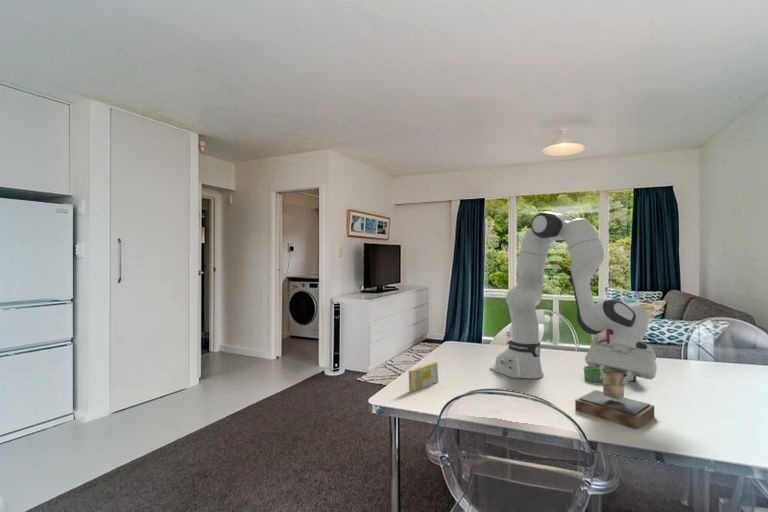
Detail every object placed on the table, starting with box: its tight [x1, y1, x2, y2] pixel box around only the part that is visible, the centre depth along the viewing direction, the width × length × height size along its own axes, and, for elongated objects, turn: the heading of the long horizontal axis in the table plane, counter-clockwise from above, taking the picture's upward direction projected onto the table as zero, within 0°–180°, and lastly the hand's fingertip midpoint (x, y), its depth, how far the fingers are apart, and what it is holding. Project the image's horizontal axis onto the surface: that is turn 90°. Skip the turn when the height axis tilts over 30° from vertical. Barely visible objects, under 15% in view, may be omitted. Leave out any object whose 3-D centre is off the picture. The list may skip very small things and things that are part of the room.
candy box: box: [408, 361, 439, 393], centre depth 150 cm, size 16×2×8 cm, turn 134°
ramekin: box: [582, 365, 603, 383], centre depth 156 cm, size 9×9×4 cm
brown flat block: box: [574, 389, 655, 430], centre depth 122 cm, size 18×14×4 cm
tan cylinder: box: [602, 369, 625, 399], centre depth 122 cm, size 4×4×8 cm
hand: (612, 382), depth 122 cm, fingers closed on tan cylinder, 4 cm apart
